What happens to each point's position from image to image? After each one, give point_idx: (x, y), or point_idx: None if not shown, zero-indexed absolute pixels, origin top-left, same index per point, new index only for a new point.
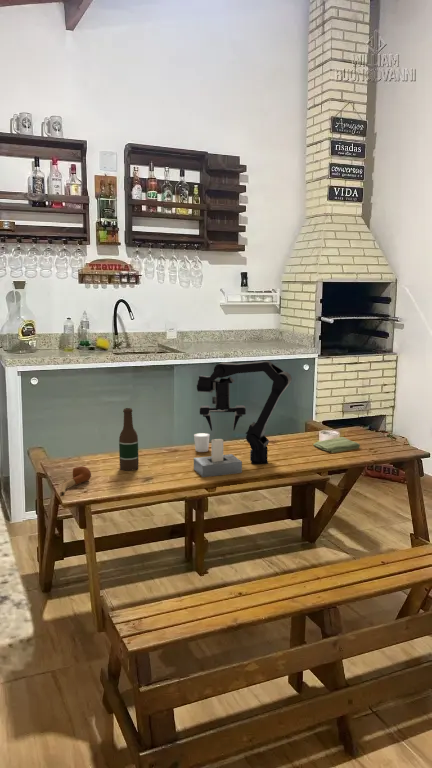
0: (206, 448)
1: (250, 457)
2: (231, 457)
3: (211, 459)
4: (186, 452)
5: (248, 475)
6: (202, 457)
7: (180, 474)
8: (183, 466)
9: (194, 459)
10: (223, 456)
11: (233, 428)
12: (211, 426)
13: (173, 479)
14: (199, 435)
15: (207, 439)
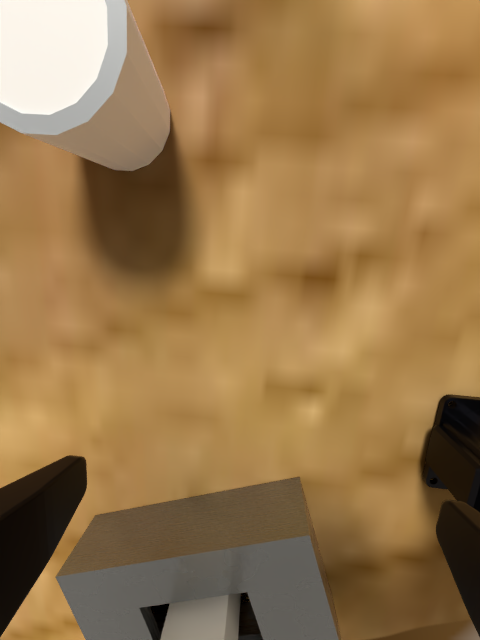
0: (148, 150)
1: (438, 475)
2: (296, 602)
3: (167, 597)
4: (19, 178)
5: (357, 633)
6: (109, 574)
7: (41, 576)
8: (39, 468)
9: (65, 584)
10: (245, 574)
11: (458, 588)
12: (24, 591)
13: (21, 627)
14: (8, 61)
15: (122, 118)
